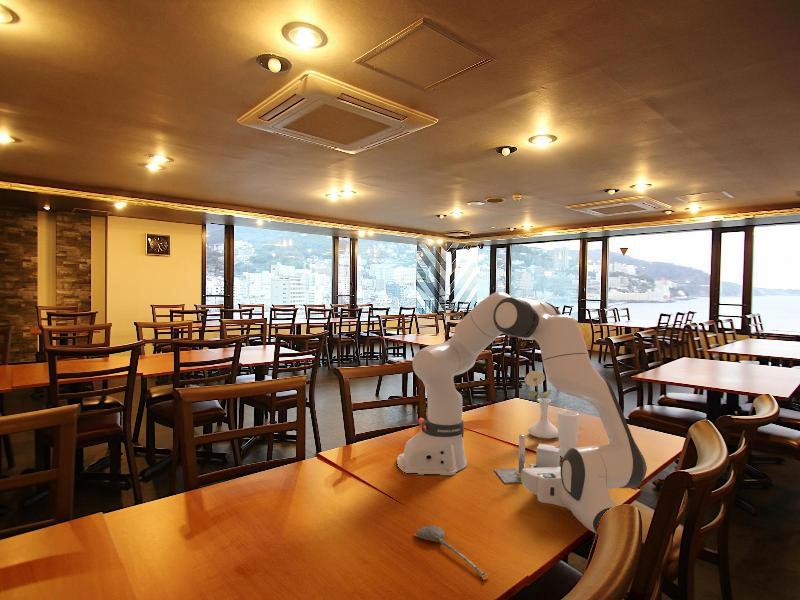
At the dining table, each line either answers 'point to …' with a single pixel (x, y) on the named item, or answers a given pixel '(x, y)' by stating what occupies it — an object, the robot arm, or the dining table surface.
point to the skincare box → (548, 456)
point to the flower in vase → (542, 425)
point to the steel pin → (521, 454)
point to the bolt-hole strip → (508, 475)
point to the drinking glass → (567, 430)
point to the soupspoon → (443, 542)
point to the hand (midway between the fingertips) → (547, 465)
